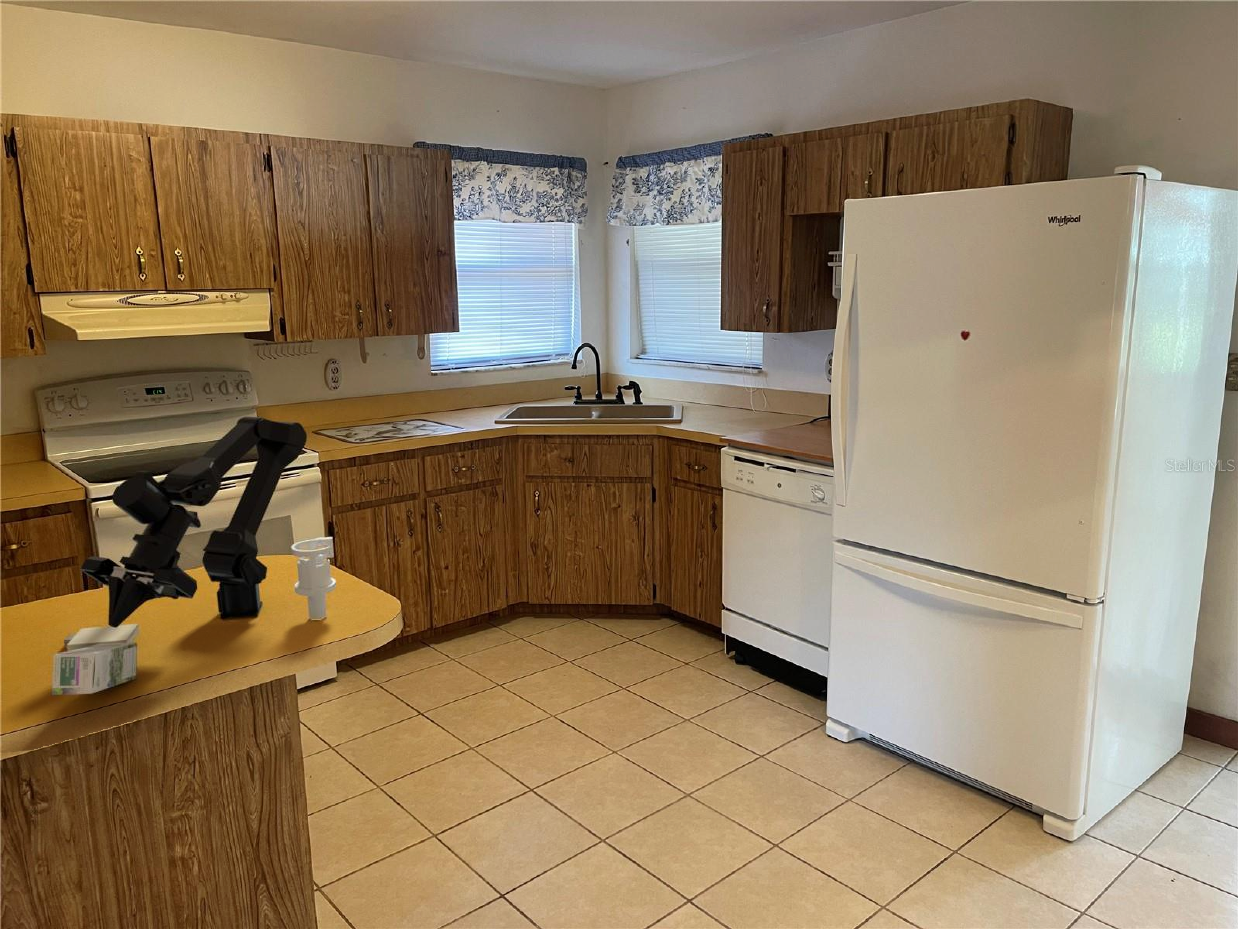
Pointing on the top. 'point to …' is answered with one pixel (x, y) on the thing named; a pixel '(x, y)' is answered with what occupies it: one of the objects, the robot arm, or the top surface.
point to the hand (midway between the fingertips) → (112, 626)
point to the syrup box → (94, 668)
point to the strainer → (314, 574)
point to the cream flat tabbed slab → (101, 636)
